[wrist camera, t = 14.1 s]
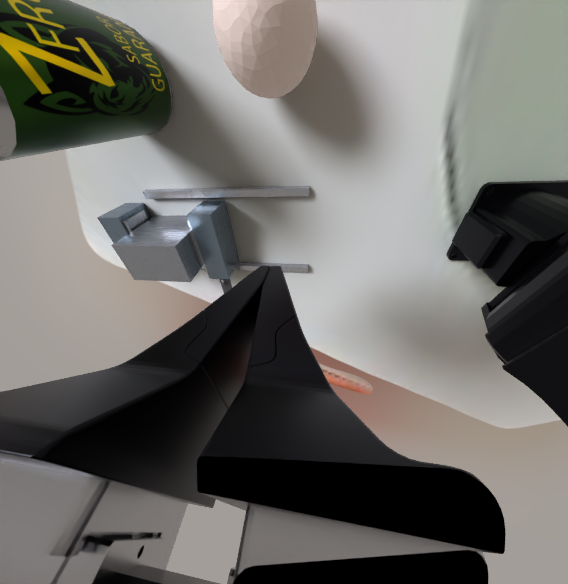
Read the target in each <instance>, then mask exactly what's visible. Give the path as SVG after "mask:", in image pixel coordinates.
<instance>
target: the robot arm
mask: <svg viewBox="0 0 568 584" xmlns="http://www.w3.org/2000/svg"><path fill="white" fill-rule="evenodd" d="M491 187H492V188H491ZM489 188H491V190H490V191H489V192H488V193H486V191H487V190H488V189H489ZM452 241H453V242H452V244H451V246H450V248H449V250H448V252H447V257H448V258H449V259H450V260H463V261H471V262H472V263H473V265H474V266H475V267H476V268H478V269H482V270H483V272H484V273H485V274H486V275H487V276H488V277H489V278H490V279H491V280H492V281H493V282H494V283H495V284H496V285H497V286H501V287H506V288H505V289H504V290H503V291H502V292H500V293H499V294H498V295H497V296H496V297H495V298H494V299H493V300H492V301H491V302H489V303H486V304H485V305H484V306H483V307H482V308H481V309H482V312H483V316H484V319H485V323H486V326H487V330H488V333H486V334H485V336H486V339H487V341H488V342H489V344H490V345H491V347H492V348H493V350H494V352H495V353H496V355H497V356H498V358H499V359H500V360H501V361H502V362H503V363H504V365H503V366H502V367H503V369H504V370H505V371H507V372H508V373H510V374H511V375H512V376H514V377H515V378H517V379H518V380H520V381H521V382H523V383H524V384H525V385H526V386H527V387H529V388H530V389H531V390H532V391H533V392H535V393H536V394H537V395H538V396H539V397H540V398H542V399H543V401H544V402H545V403H546V404H547V405H548V406H549V407H550V408H551V409H552V410H553V411H554V412H555V413H556V414H557V415H558V416H559V417H560V418H561V419H562V420H563V422H564V423H565V424H566V425H567V426H568V180H565V181H520V182H489V183H486V184H485V185H483V186H482V187H481V189H480V190H479V192H478V194H477V196H476V198H475V200H474V202H473V204H472V206H471V208H470V209H469V211H468V213H466V215H465V217H464V219H463V221H462V223H461V224H460V226H459V228H458V230H457V232H456V234H455V236H454V238H453V240H452ZM454 253H456V254H455V255H453V254H454ZM452 255H453V256H452ZM216 499H217V500H220V501H222V502H225V503H227V504H230V505H233V506H235V507H238V508H240V509H243V510H245V511H246V515H245V521H244V526H243V531H242V537H241V542H240V548H239V553H238V558H237V564H236V566H235V567H233V568H232V569H231V570H230V573H229V577H228V583H227V584H488V568H487V564H486V561H485V558H484V555H483V552H490V553H499V554H503V553H504V551H505V524H504V517H503V514H502V511H501V508H500V507H499V504H498V502H497V500H496V498H495V497H494V495H493V494H492V493H491V492H490V491H489V489H488V488H487V487H486V486H485V485H484V484H483V483H482V482H481V481H480V480H479V479H478V478H477V477H475V476H474V475H473V474H471V473H469V472H467V471H465V470H462V469H458V468H454V467H451V466H445V465H439V464H433V463H425V462H420V461H416V460H412V459H409V458H407V457H405V456H402V455H400V454H398V453H397V452H395V451H393V450H392V449H390V448H389V447H387V446H386V445H385V444H384V443H383V442H382V441H381V440H379V438H378V437H377V436H376V435H375V434H374V433H373V432H372V431H371V430H370V429H369V428H368V427H367V426H366V425H365V424H364V423H363V422H362V421H361V420H360V419H359V418H358V417H357V415H356V414H354V412H353V411H352V410H351V409H350V408H349V407H348V406H347V405H346V404H345V403H344V402H343V401H342V400H341V399H340V398H339V397H338V396H337V394H336V393H335V392H334V391H333V389H332V387H331V386H330V384H329V383H328V381H327V379H326V377H325V376H324V374H323V372H322V370H321V368H320V366H319V364H318V362H317V360H316V358H315V356H314V355H313V353H312V351H311V349H310V347H309V345H308V343H307V341H306V338H305V336H304V334H303V331H302V329H301V326H300V323H299V320H298V317H297V314H296V311H295V308H294V305H293V302H292V299H291V296H290V292H289V289H288V286H287V283H286V280H285V277H284V274H283V271H282V268H281V266H264V265H262V266H260V267H259V268H257V269H256V270H255V271H253V272H252V273H251V274H249V275H248V276H247V277H246V278H244V279H243V280H242V281H240V282H239V283H238V284H237V285H235V286H234V287H233V288H231V289H230V290H229V291H227V292H226V293H225V294H224V295H222V296H221V297H220V298H218V299H217V300H216V301H214V302H213V303H212V304H211V305H209V306H208V307H207V308H206V309H205V310H204V311H201V312H200V313H199V314H198V315H196V316H195V317H194V318H192V319H191V320H189V321H188V322H187V323H185V324H184V325H183V326H181V327H180V328H178V329H177V330H175V331H174V332H172V333H171V334H169V335H168V336H166V337H165V338H163V339H162V340H160V341H158V342H157V343H155V344H154V345H152V346H151V347H149V348H148V349H146V350H145V351H143V352H142V353H140V354H139V355H137V356H136V357H134V358H132V359H130V360H129V361H127V362H125V363H123V364H120V365H118V366H115V367H112V368H109V369H105V370H101V371H97V372H92V373H88V374H83V375H78V376H74V377H69V378H64V379H60V380H55V381H51V382H46V383H42V384H37V385H32V386H27V387H23V388H18V389H13V390H9V391H3V392H0V584H219V583H215V582H210V581H207V580H203V579H199V578H195V577H191V576H186V575H183V574H178V573H174V572H170V571H166V567H167V564H168V561H169V558H170V555H171V552H172V549H173V546H174V543H175V540H176V537H177V534H178V531H179V528H180V525H181V522H182V519H183V517H184V513H185V511H186V508H187V504H188V503H190V504H195V505H200V506H205V507H210V508H213V506H214V503H215V500H216Z"/></svg>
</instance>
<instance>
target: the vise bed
mask: <svg viewBox="0 0 568 584" xmlns="http://www.w3.org/2000/svg"><path fill="white" fill-rule="evenodd" d="M143 193H144V196H145V198H146V199H157V198H220V197H283V196H309V194H310V186H293V187H249V188H204V189H159V190H145V191H143ZM150 219H151V218H150V216H149V214H148V211H147V209H146V207H145V205H144V203H125V204H123V205H121V206H119V207H117V208H115V209H113V210H111V211H109V212H107V213H106V214H104V215H102V216H100V217H98V220H99V221H100V223H101V224H102V226H103V227H104V229H105V230H106V232H107V233H108V235H109V236H110V238H111V239H112V241H113V243H116V242H117V241H119V240H120V239H122V238H123V237H124V236H126V235H127V234H129V233H130V232H132V231H133V230H135V229H136V228H138V227H139V226H141V225H142V224H144V223H145V222H147V221H148V220H150ZM262 265H264V266H281V268H282V271H283V272H307V273H308V265H302V264H267V263H237V265H236V266H235V268H234V270H248V271H255V270H256V269H257V268H259V267H260V266H262ZM201 269H205V268H204V266H202V267H201Z"/></svg>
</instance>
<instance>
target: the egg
mask: <svg viewBox="0 0 568 584" xmlns="http://www.w3.org/2000/svg"><path fill="white" fill-rule="evenodd" d="M213 20H214V28H215V34H216V38H217V42H218V45H219V49H220V51H221V54H222V56H223V59H224V61H225V63H226V65H227V66H228V68H229V70H230V71H231V73H232V75H233V76H234V77H235V78H236V79H237V81H238V82H239V83H240V84H241V85H242V86H243V87H244V88H245V89H246V90H248V91H250V92H251V93H253V94H255V95H257V96H260V97H264V98H269V99H270V98H277V97H281V96H283V95H285V94H287V93H289V92H291V91H292V90H293V89H294V88H295V87H296V86H297V85H298V84H299V83H300V82H301V81H302V79H303V78H304V76H305V74H306V73H307V71H308V68H309V66H310V64H311V61H312V57H313V54H314V50H315V46H316V39H317V26H318V21H317V11H316V1H315V0H213Z"/></svg>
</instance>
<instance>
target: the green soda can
mask: <svg viewBox="0 0 568 584" xmlns="http://www.w3.org/2000/svg"><path fill="white" fill-rule="evenodd" d="M171 110H172V91H171V86H170V81H169V78H168V76H167V73H166V71H165V69H164V66H163V64H162V63H161V61H160V60H159V58H158V57H157V55H156V53H155V52H154V50H153V49H152V47H151V46H150V44H149V43H148V42H147V41H146V40H145V39H144V38H143V37H142V36H141V35H140V34H139V33H138V32H137V31H136V30H135V29H133V28H131V27H129V26H128V25H126V24H124V23H122V22H121V21H118V20H116V19H113V18H111V17H108V16H106V15H103V14H101V13H99V12H96V11H94V10H91V9H89V8H86V7H84V6H81V5H79V4H76V3H74V2H71V1H69V0H0V161H3V160H9V159H14V158H19V157H25V156H31V155H36V154H42V153H47V152H52V151H58V150H64V149H69V148H75V147H80V146H86V145H91V144H97V143H102V142H108V141H113V140H119V139H124V138H130V137H135V136H141V135H146V134H151V133H154V132H157V131H160V130H161V129H162V128H163V127H164V126H165V125H166V124H167V121H168V119H169V116H170V113H171Z"/></svg>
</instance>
